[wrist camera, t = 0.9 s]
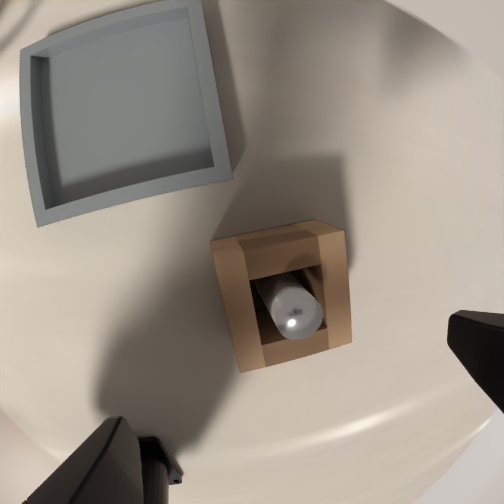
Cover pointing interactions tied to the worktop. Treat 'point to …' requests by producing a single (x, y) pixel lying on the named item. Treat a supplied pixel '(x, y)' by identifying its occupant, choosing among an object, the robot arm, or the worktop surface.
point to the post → (290, 305)
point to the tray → (121, 111)
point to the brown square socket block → (275, 262)
